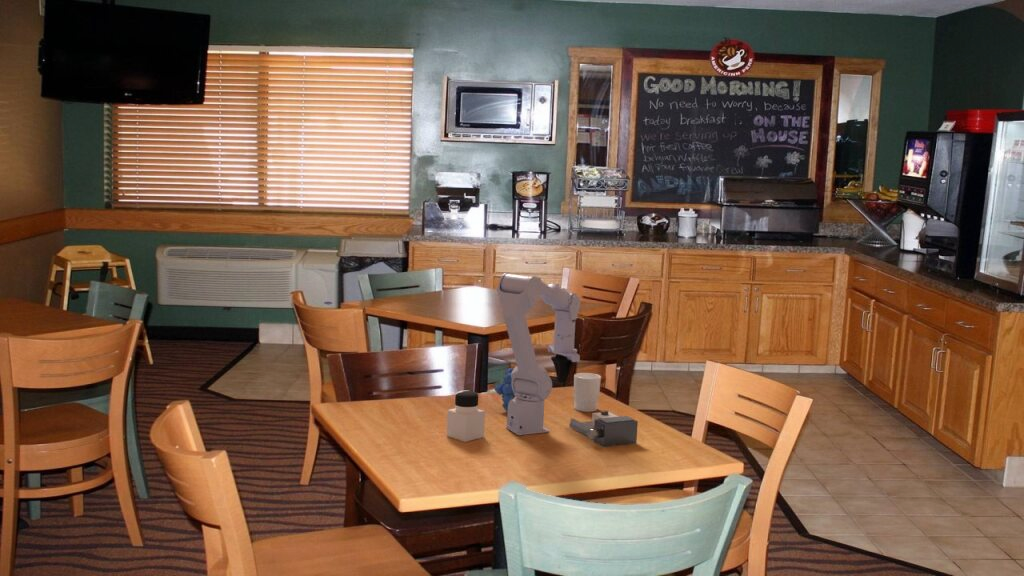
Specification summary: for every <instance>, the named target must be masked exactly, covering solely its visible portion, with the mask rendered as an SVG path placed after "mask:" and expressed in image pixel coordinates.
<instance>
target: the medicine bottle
mask: <svg viewBox="0 0 1024 576" xmlns="http://www.w3.org/2000/svg"><path fill="white" fill-rule="evenodd" d="M478 408H479V394H478V393H477V392H476V391H474V390H466V389H465V390H459V391H457V392H456V393H455V395H454V408H450V409H447V410H446V411H447V413H446V414H447V415H446V437H448V438H451V439H455V440H458V441H461V442H462V443H463V442H464V443H467V442H470V441H473V440H478V439H483V438H484V437H485V423H486V422H485V421H486V419H485V418H486V411H485V410H482V409H478Z"/></svg>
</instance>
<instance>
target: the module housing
mask: <svg viewBox="0 0 1024 576" xmlns="http://www.w3.org/2000/svg"><path fill="white" fill-rule="evenodd" d="M569 422H570V423H569V428H571V429H573V430H575V431H576V432H578V433H580V434H582V435H583V436H585V437H587V438H588V439H589V440H593V443H596V444H597V445H599V446H601V448H602V447H603V448H608V447H616V446H617V447H619V446H625V445H626V446H627V445H633V444H634V445H636V444H637V442H638V441H637V438H638V425H639V424H638V423H639V421H638V420H636V419H634V418H632V417H630V416H627V415H623V416H619V417H611V418H601V419H595V423H594V429H593V428H592V420H589V421H580V420H578V419H575V418H574V417H571V418H570V421H569Z"/></svg>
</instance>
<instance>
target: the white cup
mask: <svg viewBox="0 0 1024 576" xmlns="http://www.w3.org/2000/svg"><path fill="white" fill-rule="evenodd" d="M601 380H602V376H601V375H600V374H597V373H591V372H577V373H575V374H574V375H573V399H574V400H573V401H574V404H573V405H574V410H575V411H576V410H577V411H579V412H584V413H585V412H586V413H590V412H592V413H593V412H596V411H597V410H598V406H599V398H600V391H601Z"/></svg>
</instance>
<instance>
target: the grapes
mask: <svg viewBox="0 0 1024 576" xmlns="http://www.w3.org/2000/svg"><path fill="white" fill-rule="evenodd" d="M513 369H514V368H511V367H510V368H507V370H506V371H504V377H503V381H502V383H498V384H497V385H496V386H495V387H494V391H495V392H496V394H497V395H498V396H500V395H501V398H502V399H501V400H502V402H503V404H502V405H501V406H502V408H503V409H504V410H505V411H506V412H507V411H508V403H509V401H510V400H512V399H516V397H515V395H516V393H514V392H513V390H512V385H511V383H512V378H511V373H512V371H513Z"/></svg>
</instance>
